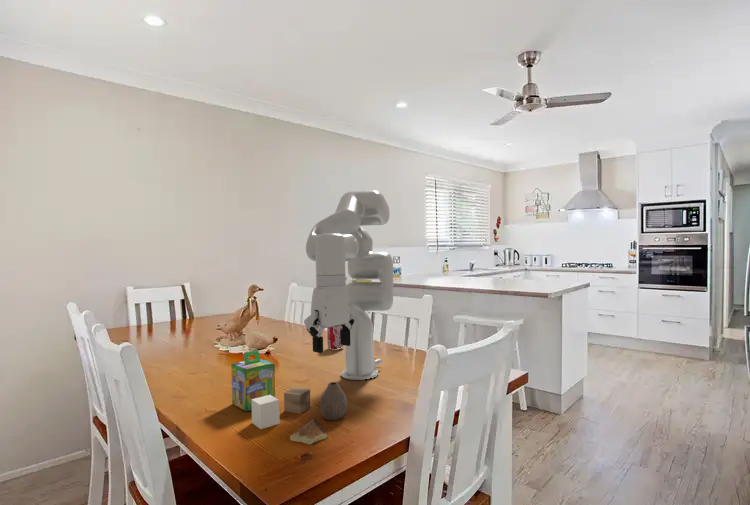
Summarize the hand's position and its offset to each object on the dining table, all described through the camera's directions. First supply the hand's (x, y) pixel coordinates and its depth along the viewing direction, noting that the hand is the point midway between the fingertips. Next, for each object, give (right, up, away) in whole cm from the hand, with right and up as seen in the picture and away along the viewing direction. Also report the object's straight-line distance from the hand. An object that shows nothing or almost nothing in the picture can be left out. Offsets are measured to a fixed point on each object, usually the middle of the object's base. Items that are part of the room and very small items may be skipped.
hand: (332, 348), depth 108 cm
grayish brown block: (-10, -18, +7) cm, 22 cm away
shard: (-5, -19, -9) cm, 21 cm away
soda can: (-6, -18, +75) cm, 77 cm away
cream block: (-16, -18, -2) cm, 25 cm away
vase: (0, -18, 0) cm, 18 cm away
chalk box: (-23, -18, +11) cm, 32 cm away
